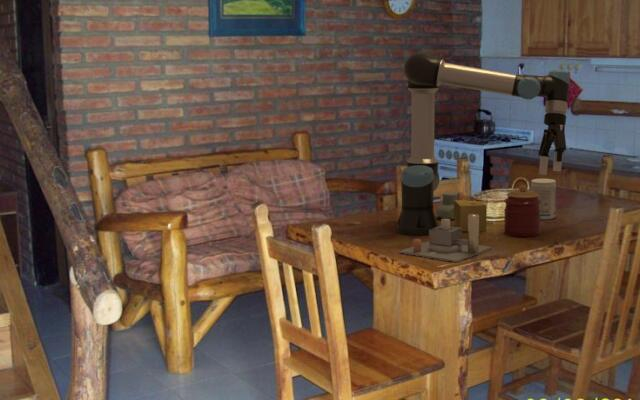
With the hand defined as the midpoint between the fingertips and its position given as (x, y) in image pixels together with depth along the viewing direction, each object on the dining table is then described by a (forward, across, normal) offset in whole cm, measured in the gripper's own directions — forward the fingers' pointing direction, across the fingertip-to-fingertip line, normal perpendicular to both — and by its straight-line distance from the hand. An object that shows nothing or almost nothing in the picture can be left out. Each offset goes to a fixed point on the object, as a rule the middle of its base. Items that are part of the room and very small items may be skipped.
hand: (549, 172), depth 315 cm
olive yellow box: (+23, +16, +22) cm, 36 cm away
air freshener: (+18, +36, +25) cm, 47 cm away
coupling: (+31, -18, +36) cm, 51 cm away
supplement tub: (+14, +29, -10) cm, 34 cm away
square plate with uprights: (+33, -15, +38) cm, 53 cm away
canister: (+22, +6, +6) cm, 24 cm away
